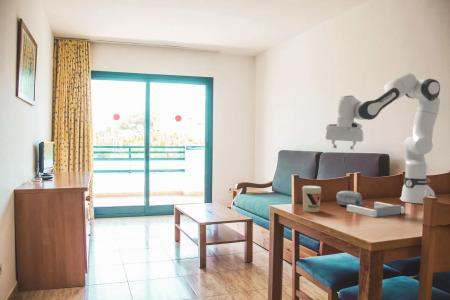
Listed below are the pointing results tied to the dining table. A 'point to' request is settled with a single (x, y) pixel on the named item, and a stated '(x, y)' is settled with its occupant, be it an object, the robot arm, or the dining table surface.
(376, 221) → the dining table surface
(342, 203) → the grey-green rounded block
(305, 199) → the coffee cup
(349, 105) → the robot arm
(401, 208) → the notched board
